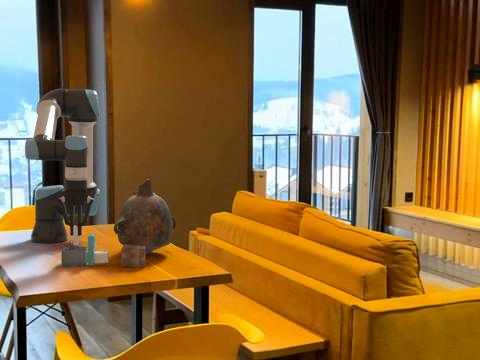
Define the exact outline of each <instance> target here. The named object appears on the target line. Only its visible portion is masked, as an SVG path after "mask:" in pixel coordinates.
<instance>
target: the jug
mask: <svg viewBox="0 0 480 360" xmlns="http://www.w3.org/2000/svg"><path fill="white" fill-rule="evenodd" d="M154 193H155V192H153V186H152V180H151V179H149V178H147V179H145V181H144V182H143V183H140V184H139V185H138V190H136V191H134V192H133V195H132V196H130V197H129V198H127V200H126V201H125V203H124V204H123V205H122V207H121V210H120V212H119V215H118V220H117V221H116V222H115V223H114V226H113V232H114V233H115V234H116V235H117V240H118V242H119V243H120V244H121V245H122V246H123V244H146V253H145V255H148V254H150V253H152V252H155V251H157V250H159V249H161V248H164V247H166V246H169V245H170V244H171V243H172V239H173V233H174V231H173V230H174V229H175V228H176V220H175V218H174V217H173V216H172V215H171V210H170V208H169V206H168V204H167V202H166V201H165V200H164V199H163V198H162V197H161V196H159V195H157V194H156V193H155V194H154Z"/></svg>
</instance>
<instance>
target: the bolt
mask: <svg viewBox="0 0 480 360" xmlns="http://www.w3.org/2000/svg"><path fill="white" fill-rule="evenodd" d="M96 235H97V234H96V233H89V235H87V251H86V252H85V263H87V266H94V265H95V264H96V263H98V264H100V263H101V264H104V263H105V264H107V263H109V261H110V251H107V250H106V251H105V250H104V251H103V250H100V251H99V250H96Z"/></svg>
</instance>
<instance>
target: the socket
mask: <svg viewBox="0 0 480 360" xmlns="http://www.w3.org/2000/svg"><path fill="white" fill-rule="evenodd" d="M145 253H146V244H123V245H122V247H121V268H122V269H124V268H125V269H128V268H129V269H145V266H146V254H145Z"/></svg>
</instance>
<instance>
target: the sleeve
mask: <svg viewBox="0 0 480 360" xmlns="http://www.w3.org/2000/svg"><path fill="white" fill-rule="evenodd" d="M86 251H88V246H64V247H63V248H62V249H61V254H60V255H61V268H85V267H86V266H87V265H88V263H85V252H86Z"/></svg>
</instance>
